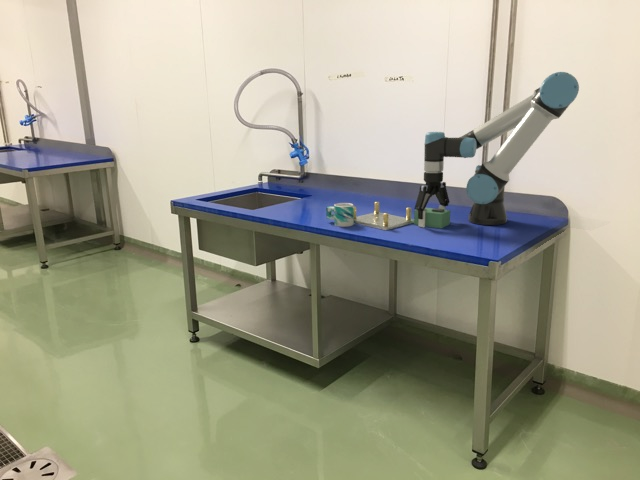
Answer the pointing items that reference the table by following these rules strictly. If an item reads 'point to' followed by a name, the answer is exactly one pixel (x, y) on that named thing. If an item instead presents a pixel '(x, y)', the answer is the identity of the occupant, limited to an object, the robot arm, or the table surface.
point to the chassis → (382, 219)
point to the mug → (341, 214)
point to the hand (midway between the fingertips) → (431, 224)
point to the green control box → (434, 217)
